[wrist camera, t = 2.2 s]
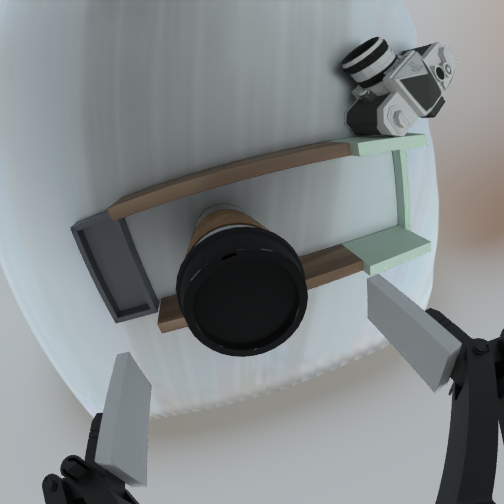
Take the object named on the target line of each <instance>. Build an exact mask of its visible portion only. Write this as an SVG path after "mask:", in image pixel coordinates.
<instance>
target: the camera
mask: <svg viewBox="0 0 504 504" xmlns="http://www.w3.org/2000/svg"><path fill="white" fill-rule="evenodd" d="M456 61H457V59H456V57H455V54H454V52H453V51H452V50H451V49H450V48H449V47H446V46H445V45H443V44H440V43H433V44H429V45H427V46H423V47H419V48H415V49H411V50H407V51H402V52H400V53H399V54H398V55H396V54H395V53H394V52H393V51H391V50H390V47H389V46H388V45H387V42H386V41H385V40H384V39H381V38H380V37H375V38H372V39H370V40H368V41H366V42H365V43H363V44H362V45H360V46H359V47H357V48H356V49H355V50H353V51H352V52H351V53H350V54H349V55H348V56H347V57H346V58H345V59H344V60H343V62H342V63H341V64H342V66H343V70H344V71H345V72H347V73H349V74H350V75H351V77H353V78H354V80H355V81H356V82H357V83H358V84H359V85H358V86H357V87H356V88H355V89H354V90H353V91H352V92H351V93H352V94H353V95H354V96H355V98H356V99H357V100H356V101H355V102H354V103H353V104H352V105H351V106H350V108H349V109H348V110H347V111H346V112H345V116H344V124H345V125H346V126H347V127H348V128H349V129H350V131H351V132H352V133H353V134H355V135H380V136H389V137H393V136H405V134H406V133H407V132H408V131H409V129H410V128H411V127H412V125H413V124H414V123H415V121H416V120H417V119H418V117H421V118H430V117H435V116H436V115H437V113H438V112H439V110H440V109H441V107H442V106H443V104H444V103H445V101H444V99H443V97H442V90H441V88H440V86H441V85H442V87H443V89H444V90H446V89H447V87H448V85H449V84H450V82H451V80H452V78H453V74H454V71H455V66H456Z"/></svg>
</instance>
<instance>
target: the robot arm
mask: <svg viewBox="0 0 504 504" xmlns="http://www.w3.org/2000/svg"><path fill="white" fill-rule="evenodd" d="M367 293H368V319H369V320H370V321H371V322H372V323H373V324H374V325H375V326H376V327H377V329H378V330H379V331H380V332H381V333H382V334H383V335H384V336H385V337H386V338H387V340H388V341H389V342H390V343H391V344H392V345H393V346H394V347H395V348H396V349H397V351H398V352H399V353H400V354H401V355H402V356H403V357H404V358H405V360H406V361H407V362H408V363H409V364H410V365H411V366H412V367H413V369H414V370H415V371H416V372H417V373H418V374H419V375H420V377H421V378H422V379H423V380H424V381H425V382H426V383H427V385H428V386H429V387H430V388H431V389H432V391H433V392H435V393H436V392H438V391H439V390H441V389H442V388H443V387H445V386H446V385H447V383H448V381H449V378H450V377H451V378H452V379H453V381H454V382H453V384H452V387H451V389H450V391H449V395H451V393H452V410H451V421H450V431H449V439H448V447H447V453H446V459H445V464H444V470H443V475H442V479H441V484H440V489H439V493H438V496H437V500H436V503H435V504H496V503H495V502H494V501H493V500H492V493H493V487H494V480H495V473H496V463H497V451H498V420H499V424H500V429H501V433H502V438H503V443H504V329H503V330H502V332H501V335H500V337H499V338H496V339H494V340H491V341H486V340H484V339H480V338H477V339H472V338H470V337H469V336H468V335H467V334H466V333H465V332H463V331H462V330H461V329H460V328H459V327H458V326H456V325H455V324H454V323H452V322H451V321H450V320H449V319H448V318H446V317H445V316H444V315H443V314H442V313H441V312H439V311H437V310H434V309H432V308H429V309H427V310H426V311H424V310H423V309H421V308H420V307H419V306H418V305H417V304H415V303H414V302H413V301H412V300H411V299H409V298H408V297H407V296H406V295H404V294H403V293H402V292H401V291H399V290H398V289H397V288H396V287H394V286H393V285H392V284H391V283H389V282H388V281H387V280H386V279H384V278H383V277H382V276H381V275H379V274H377V275H375V276H372V277H370V278H367ZM151 387H152V385H151V384H150V383H149V381H148V380H147V378H146V377H145V375H144V374H143V372H142V371H141V369H140V368H139V366H138V365H137V363H136V362H135V360H134V359H133V357H132V356H131V354H130V353H129V352H126V353H122V354H117V357H116V361H115V364H114V368H113V372H112V376H111V380H110V384H109V388H108V393H107V397H106V402H105V406H104V411H103V413H97V414H96V416H95V418H94V419H93V421H92V424H91V429H90V431H91V432H90V433H89V439H88V444H87V450H86V455H85V461H84V460H82V459H81V458H80V457H79V456H76V455H70V456H68V457H66V458H65V459H64V460H63V462H62V464H61V469H60V471H61V474H62V475H63V476H64V477H66V478H60V477H59V476H57V475H55V474H49V475H48V476H46V477H45V478H44V480H43V483H42V489H43V493H44V498H45V503H46V504H139V503H138V502H137V501H136V499H135V498H134V497H133V496H132V495H131V494H130V492H129V491H128V490H126V489H125V483H126V484H128V485H130V486H131V487H147V447H148V425H149V411H150V398H151Z"/></svg>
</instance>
